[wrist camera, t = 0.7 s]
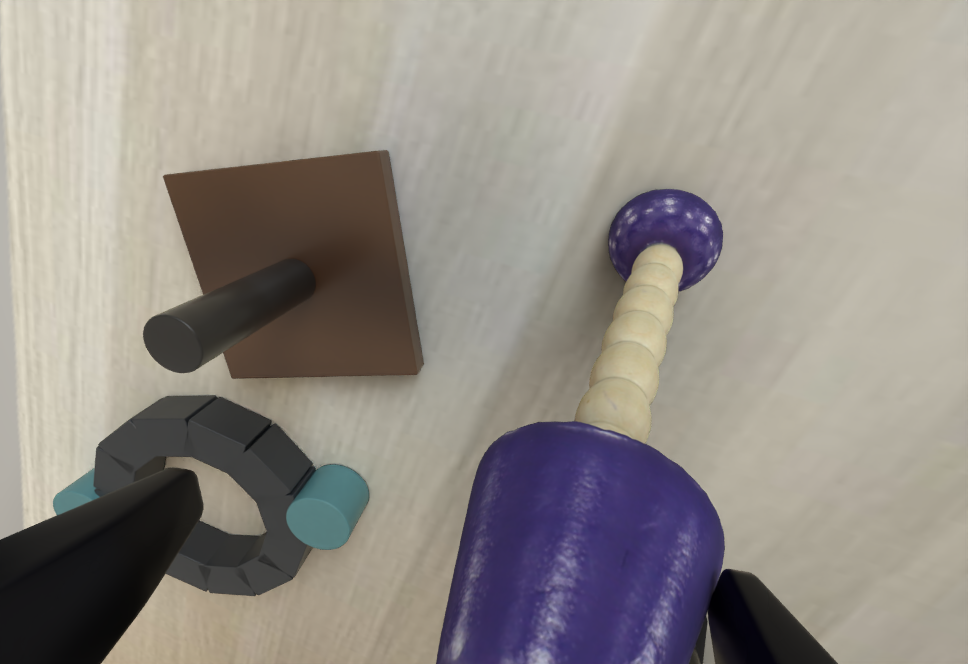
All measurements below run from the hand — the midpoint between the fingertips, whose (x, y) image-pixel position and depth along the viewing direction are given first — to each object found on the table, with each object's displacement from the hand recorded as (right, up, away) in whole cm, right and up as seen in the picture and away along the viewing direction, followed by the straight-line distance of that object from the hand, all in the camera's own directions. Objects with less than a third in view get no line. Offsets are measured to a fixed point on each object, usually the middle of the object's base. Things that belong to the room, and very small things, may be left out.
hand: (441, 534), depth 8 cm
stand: (-8, +6, +14) cm, 17 cm away
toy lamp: (+8, +8, +11) cm, 15 cm away
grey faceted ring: (-15, -6, +21) cm, 26 cm away
